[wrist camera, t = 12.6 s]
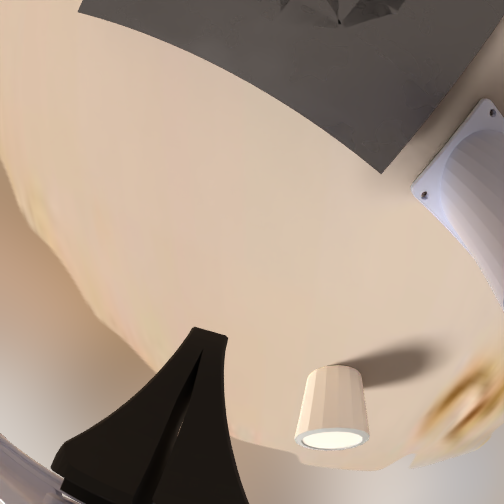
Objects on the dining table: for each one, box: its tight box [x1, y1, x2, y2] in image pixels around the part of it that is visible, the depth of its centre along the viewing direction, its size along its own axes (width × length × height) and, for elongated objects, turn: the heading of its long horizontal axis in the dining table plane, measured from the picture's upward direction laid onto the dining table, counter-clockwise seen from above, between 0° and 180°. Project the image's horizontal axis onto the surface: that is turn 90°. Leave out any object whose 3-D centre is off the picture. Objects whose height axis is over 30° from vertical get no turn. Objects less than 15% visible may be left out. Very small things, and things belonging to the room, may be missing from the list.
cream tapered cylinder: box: [295, 365, 369, 451], centre depth 25 cm, size 7×7×7 cm
